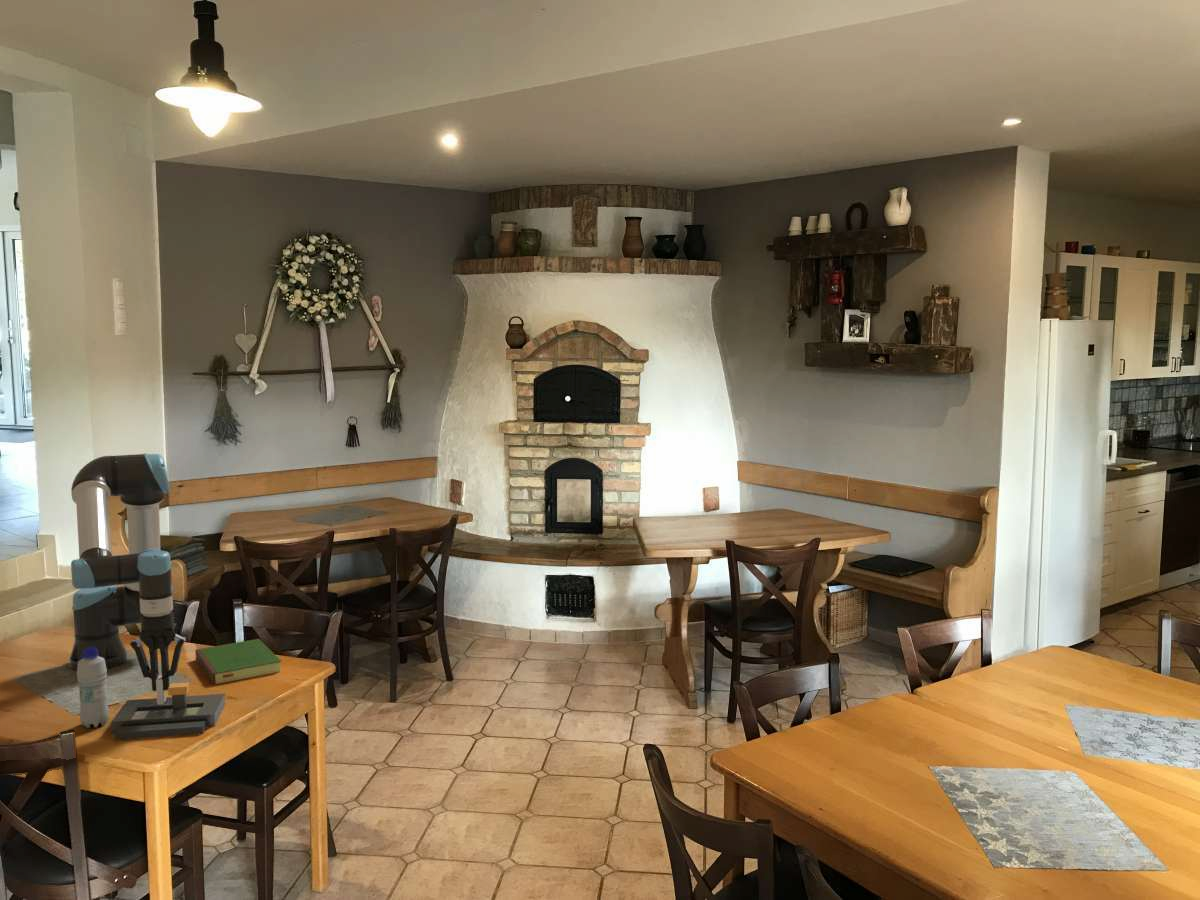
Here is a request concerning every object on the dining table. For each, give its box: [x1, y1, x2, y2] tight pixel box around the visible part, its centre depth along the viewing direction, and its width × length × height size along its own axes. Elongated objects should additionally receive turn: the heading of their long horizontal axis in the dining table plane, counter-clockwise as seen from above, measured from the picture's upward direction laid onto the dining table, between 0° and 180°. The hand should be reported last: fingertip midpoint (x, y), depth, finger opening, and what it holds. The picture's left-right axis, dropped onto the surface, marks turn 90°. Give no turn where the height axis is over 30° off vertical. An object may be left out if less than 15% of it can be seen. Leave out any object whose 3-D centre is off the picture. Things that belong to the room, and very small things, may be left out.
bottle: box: [76, 647, 110, 729], centre depth 236 cm, size 7×7×20 cm
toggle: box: [167, 681, 191, 709], centre depth 241 cm, size 3×4×7 cm
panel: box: [110, 693, 226, 734], centre depth 241 cm, size 14×24×3 cm, turn 102°
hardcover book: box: [195, 638, 282, 686], centre depth 279 cm, size 25×19×4 cm
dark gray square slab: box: [114, 721, 207, 741], centre depth 240 cm, size 21×20×2 cm
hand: (161, 702), depth 240 cm, fingers closed
